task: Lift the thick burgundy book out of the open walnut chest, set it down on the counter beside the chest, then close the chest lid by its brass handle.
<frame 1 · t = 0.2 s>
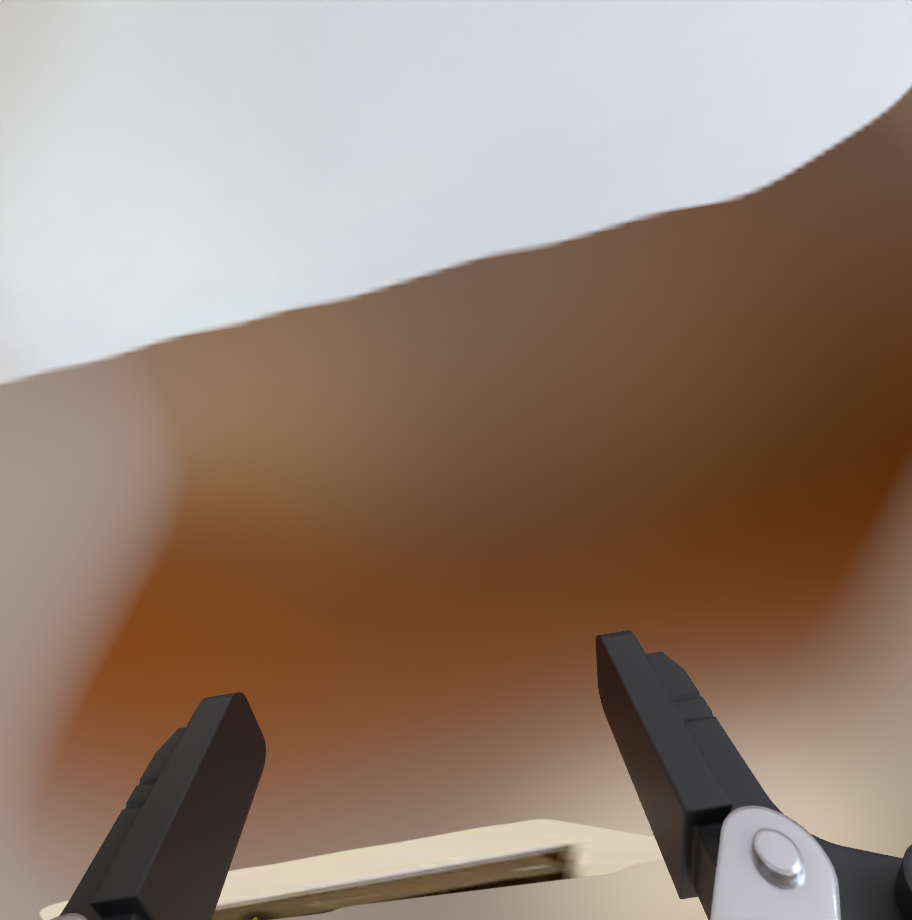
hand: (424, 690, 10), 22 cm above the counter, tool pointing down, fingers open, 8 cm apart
lemon: (254, 915, 71), on the counter
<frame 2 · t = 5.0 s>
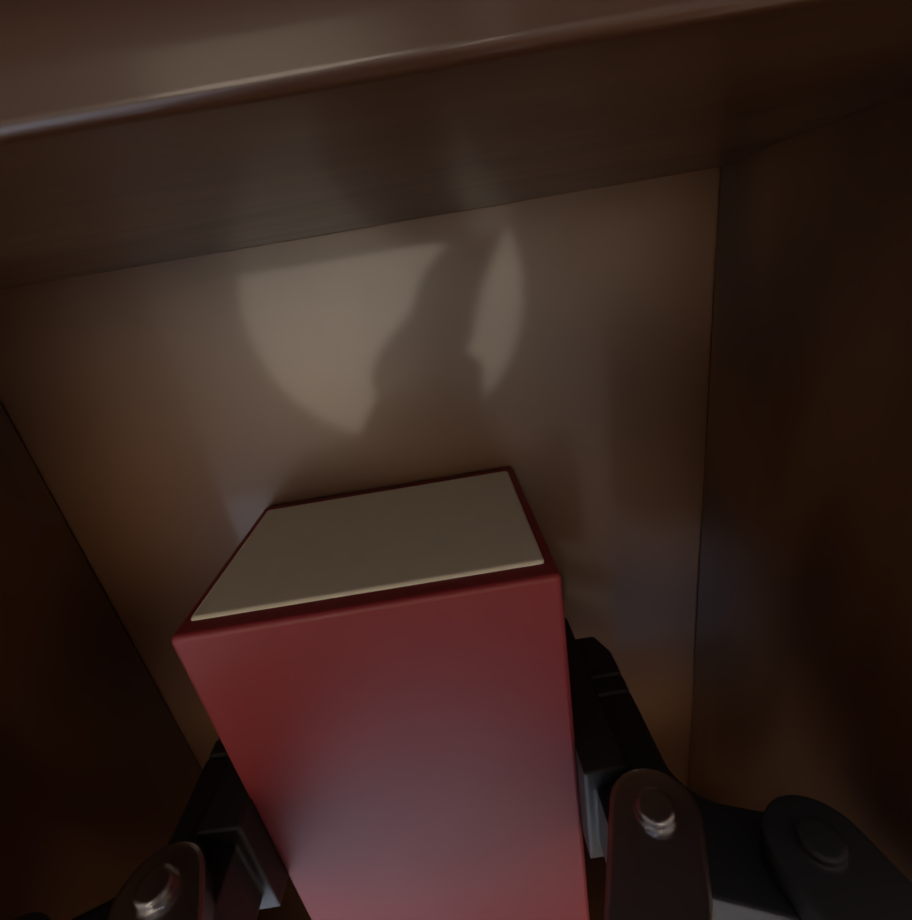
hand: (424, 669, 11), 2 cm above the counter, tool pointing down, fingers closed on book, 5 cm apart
chest: (419, 588, 12), on the counter
book: (425, 642, 12), point 1 cm above the counter, touching chest, gripper
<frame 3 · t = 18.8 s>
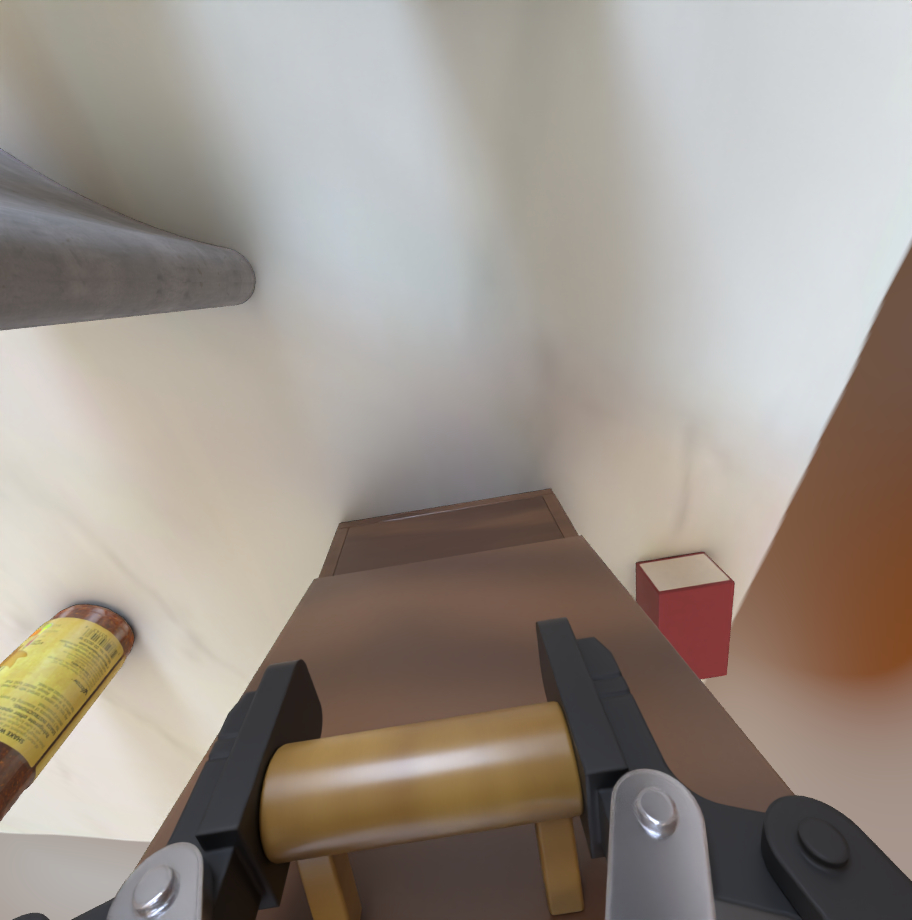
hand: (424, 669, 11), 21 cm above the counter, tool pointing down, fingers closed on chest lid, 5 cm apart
chest lid: (441, 625, 16), point 17 cm above the counter, hinge at 100.0°, touching gripper
chest: (463, 607, 37), on the counter
hip flask: (115, 236, 26), on the counter
sauce bottle: (99, 631, 36), on the counter
book: (668, 602, 38), on the counter
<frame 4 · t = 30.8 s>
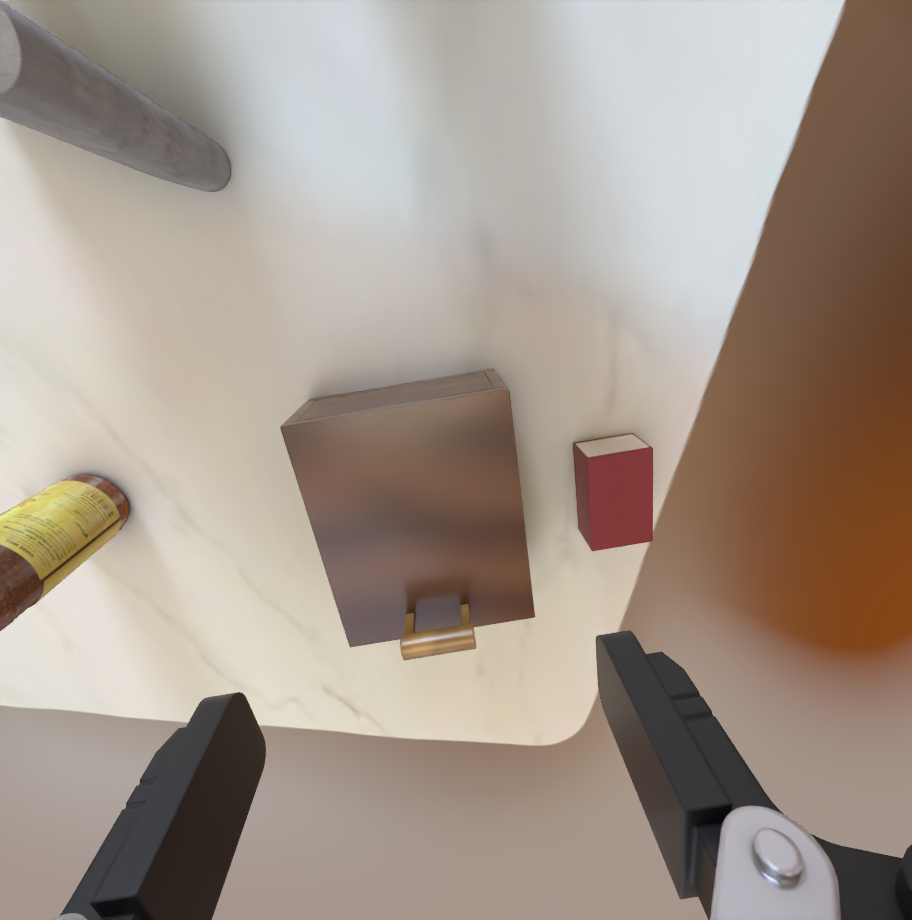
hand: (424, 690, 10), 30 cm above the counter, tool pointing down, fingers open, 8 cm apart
chest lid: (420, 544, 33), point 9 cm above the counter, hinge at -0.2°, touching chest
chest: (421, 484, 41), on the counter
hip flask: (111, 128, 31), on the counter
sauce bottle: (98, 503, 40), on the counter
book: (604, 482, 42), on the counter
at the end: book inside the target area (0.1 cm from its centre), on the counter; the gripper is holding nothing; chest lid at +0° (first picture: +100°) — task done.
